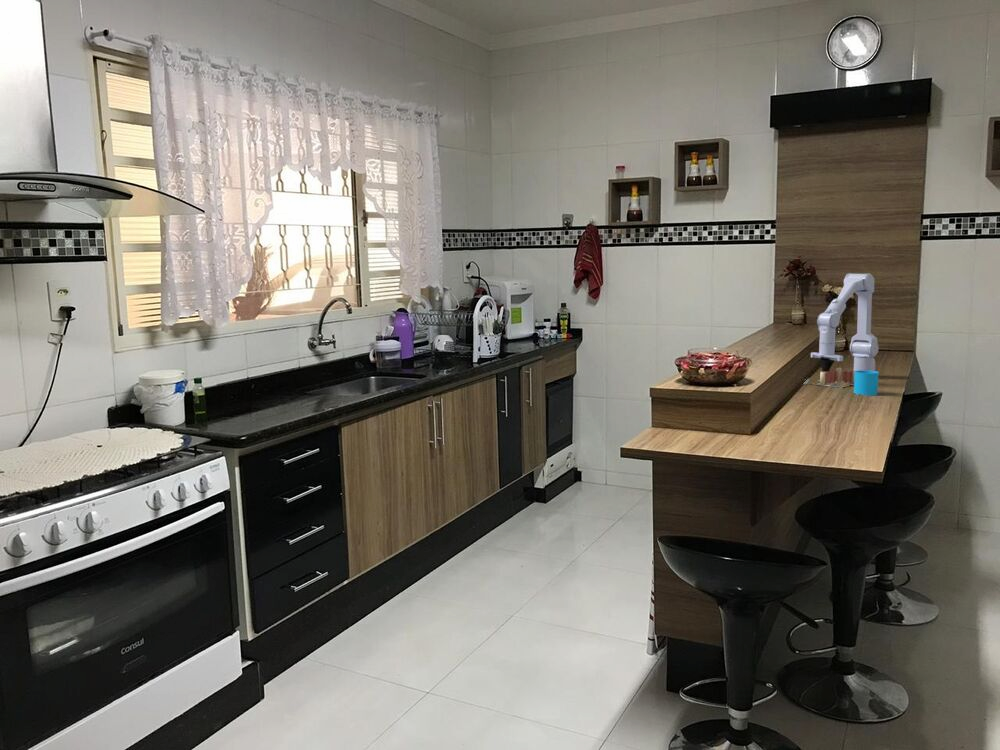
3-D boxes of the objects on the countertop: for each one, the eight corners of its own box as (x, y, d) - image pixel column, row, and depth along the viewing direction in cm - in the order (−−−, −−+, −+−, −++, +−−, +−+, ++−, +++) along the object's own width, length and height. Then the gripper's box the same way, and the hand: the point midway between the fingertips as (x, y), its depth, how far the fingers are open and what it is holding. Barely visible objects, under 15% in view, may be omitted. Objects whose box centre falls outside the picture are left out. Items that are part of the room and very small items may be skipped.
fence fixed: (834, 383, 327) (835, 368, 326) (836, 382, 328) (837, 367, 328) (856, 385, 321) (856, 370, 320) (858, 384, 323) (858, 369, 322)
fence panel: (833, 381, 327) (834, 369, 326) (838, 382, 325) (838, 370, 325) (818, 384, 321) (819, 372, 320) (822, 385, 319) (823, 372, 319)
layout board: (818, 376, 344) (818, 375, 344) (865, 381, 331) (865, 380, 331) (794, 383, 328) (794, 382, 328) (843, 388, 314) (843, 387, 314)
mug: (875, 396, 297) (876, 374, 296) (851, 394, 301) (852, 372, 300) (881, 391, 307) (882, 370, 305) (857, 389, 311) (858, 368, 310)
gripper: (805, 342, 327) (804, 375, 329) (834, 345, 314) (832, 380, 316) (818, 341, 330) (817, 374, 332) (847, 344, 317) (845, 379, 319)
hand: (825, 377), depth 324 cm, fingers closed, pressing on fence panel
